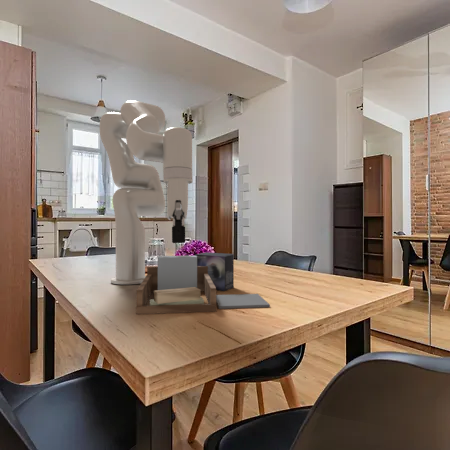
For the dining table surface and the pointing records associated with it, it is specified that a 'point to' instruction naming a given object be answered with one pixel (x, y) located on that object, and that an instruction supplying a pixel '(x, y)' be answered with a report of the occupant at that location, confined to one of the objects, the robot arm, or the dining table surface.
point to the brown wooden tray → (202, 283)
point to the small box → (218, 269)
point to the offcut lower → (198, 301)
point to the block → (177, 272)
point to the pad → (240, 301)
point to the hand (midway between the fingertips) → (178, 242)
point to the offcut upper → (177, 295)
